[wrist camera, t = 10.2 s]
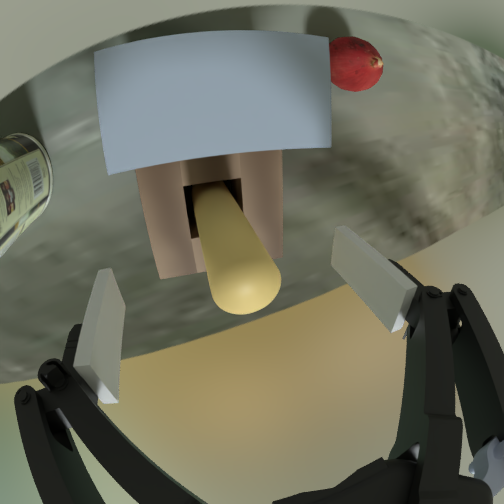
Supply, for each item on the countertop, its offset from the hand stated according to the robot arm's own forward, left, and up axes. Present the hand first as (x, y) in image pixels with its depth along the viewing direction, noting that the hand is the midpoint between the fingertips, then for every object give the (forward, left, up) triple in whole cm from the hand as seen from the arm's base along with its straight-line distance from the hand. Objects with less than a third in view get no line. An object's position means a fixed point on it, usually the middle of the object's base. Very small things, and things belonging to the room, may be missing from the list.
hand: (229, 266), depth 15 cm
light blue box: (0, +9, -14) cm, 17 cm away
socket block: (0, 0, -14) cm, 14 cm away
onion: (+14, +13, -14) cm, 24 cm away
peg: (0, 0, -14) cm, 14 cm away
